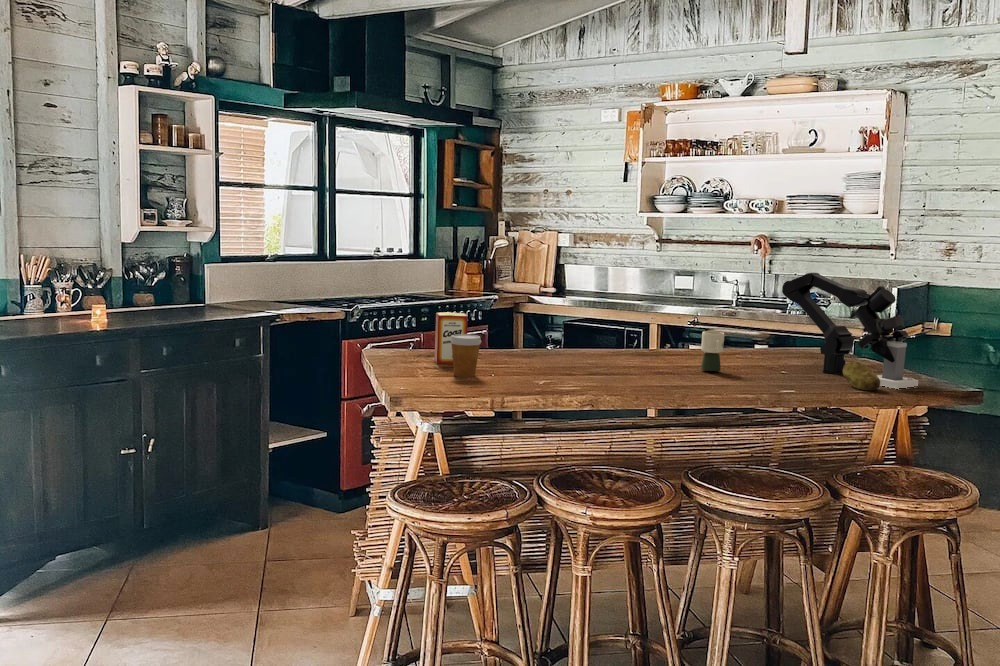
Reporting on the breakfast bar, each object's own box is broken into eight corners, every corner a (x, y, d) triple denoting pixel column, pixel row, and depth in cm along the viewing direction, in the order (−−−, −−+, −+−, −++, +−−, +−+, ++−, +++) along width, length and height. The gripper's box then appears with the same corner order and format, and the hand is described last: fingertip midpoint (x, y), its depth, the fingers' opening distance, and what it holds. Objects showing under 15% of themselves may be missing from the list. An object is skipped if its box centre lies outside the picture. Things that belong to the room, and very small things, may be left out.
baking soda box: (463, 360, 324) (464, 312, 321) (465, 363, 317) (467, 314, 315) (434, 360, 322) (436, 311, 320) (436, 363, 316) (438, 314, 313)
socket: (866, 383, 314) (867, 374, 314) (887, 380, 320) (888, 372, 320) (896, 389, 305) (897, 381, 305) (917, 387, 311) (918, 378, 311)
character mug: (726, 375, 318) (729, 335, 316) (705, 374, 317) (708, 334, 315) (715, 368, 328) (718, 330, 326) (694, 368, 327) (697, 329, 326)
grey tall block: (881, 380, 313) (885, 341, 311) (890, 379, 316) (894, 340, 314) (894, 382, 309) (898, 343, 307) (902, 381, 312) (907, 343, 310)
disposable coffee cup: (473, 372, 304) (475, 333, 302) (484, 378, 295) (486, 338, 293) (444, 372, 300) (446, 334, 299) (454, 378, 292) (455, 339, 290)
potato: (856, 392, 298) (858, 366, 297) (837, 383, 311) (839, 358, 310) (882, 392, 299) (885, 366, 298) (862, 384, 312) (864, 359, 311)
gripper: (870, 307, 307) (898, 348, 300) (906, 305, 317) (933, 344, 310) (846, 328, 315) (873, 368, 307) (882, 326, 325) (908, 364, 318)
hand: (898, 361), depth 310 cm, fingers closed on grey tall block, 4 cm apart
